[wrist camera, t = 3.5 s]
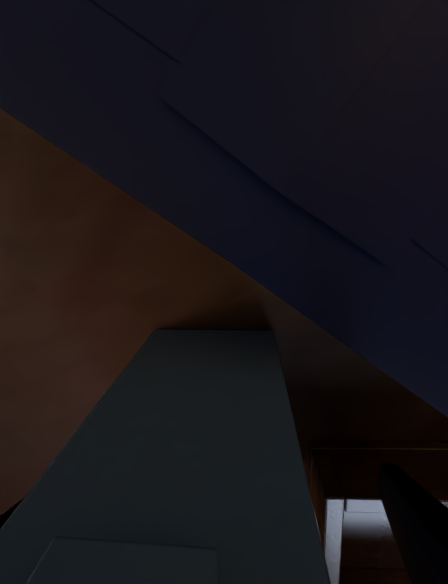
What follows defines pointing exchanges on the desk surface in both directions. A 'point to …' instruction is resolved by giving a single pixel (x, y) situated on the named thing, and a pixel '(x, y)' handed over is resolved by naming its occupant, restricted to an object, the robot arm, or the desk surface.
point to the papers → (268, 145)
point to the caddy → (367, 503)
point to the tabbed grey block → (176, 477)
